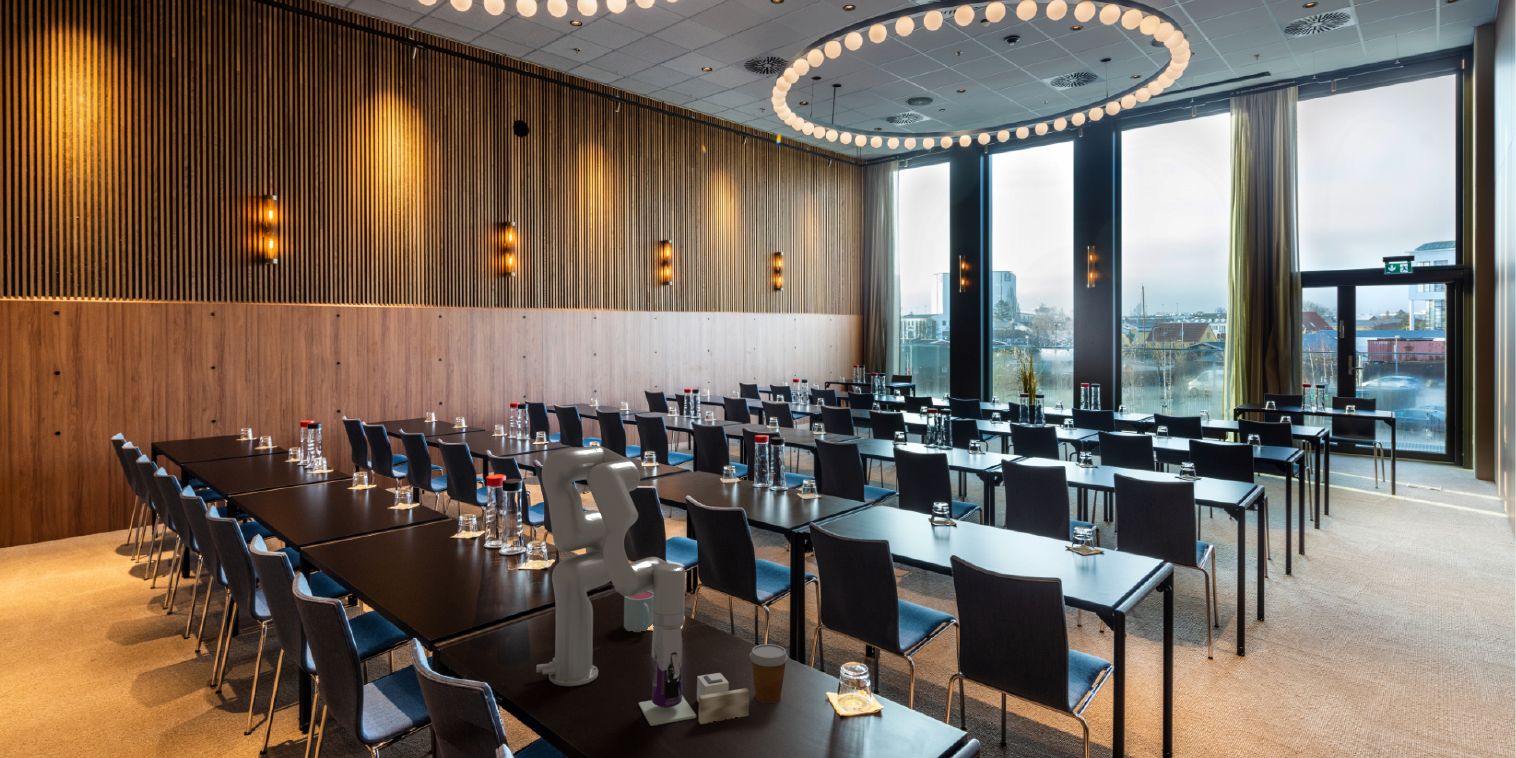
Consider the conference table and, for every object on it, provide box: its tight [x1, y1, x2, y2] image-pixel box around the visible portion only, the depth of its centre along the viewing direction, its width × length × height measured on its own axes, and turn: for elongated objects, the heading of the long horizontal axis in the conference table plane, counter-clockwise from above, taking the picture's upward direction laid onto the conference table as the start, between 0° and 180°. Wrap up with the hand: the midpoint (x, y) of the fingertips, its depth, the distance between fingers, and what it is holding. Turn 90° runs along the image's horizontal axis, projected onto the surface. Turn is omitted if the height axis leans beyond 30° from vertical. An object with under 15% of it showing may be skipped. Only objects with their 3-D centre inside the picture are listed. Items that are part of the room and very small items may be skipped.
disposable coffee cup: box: [749, 643, 789, 704], centre depth 191 cm, size 10×10×12 cm
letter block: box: [696, 672, 730, 703], centre depth 187 cm, size 6×6×6 cm
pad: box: [638, 695, 697, 726], centre depth 183 cm, size 11×11×1 cm
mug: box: [623, 590, 653, 633], centre depth 235 cm, size 14×9×10 cm
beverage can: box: [651, 655, 684, 708], centre depth 183 cm, size 7×7×12 cm
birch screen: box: [698, 687, 750, 725], centre depth 180 cm, size 12×2×6 cm, turn 113°
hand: (666, 690), depth 183 cm, fingers closed on beverage can, 6 cm apart
